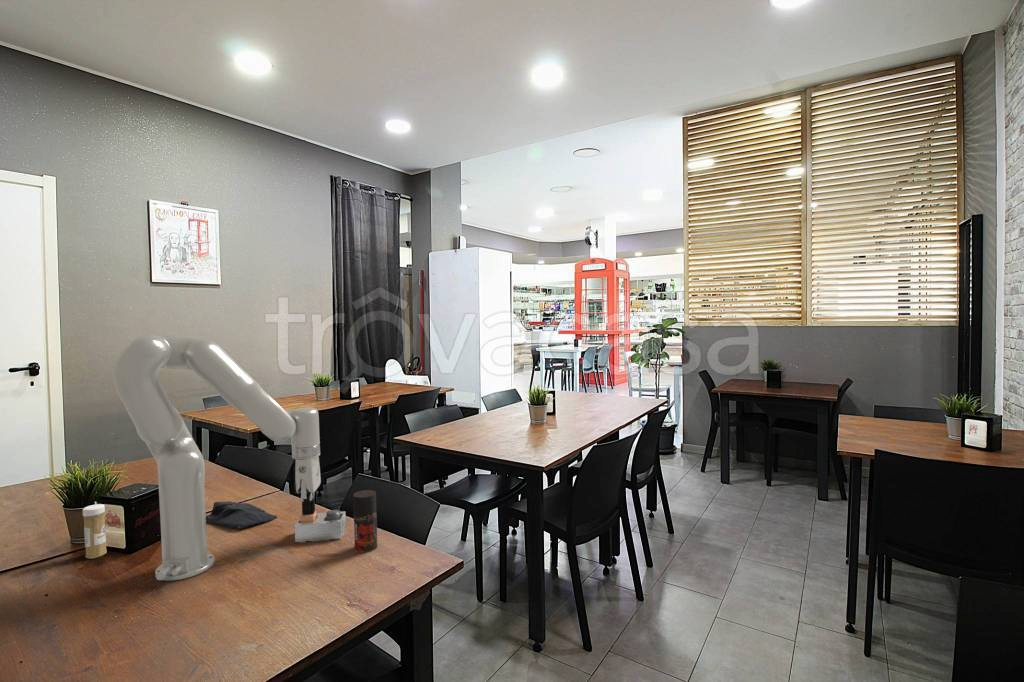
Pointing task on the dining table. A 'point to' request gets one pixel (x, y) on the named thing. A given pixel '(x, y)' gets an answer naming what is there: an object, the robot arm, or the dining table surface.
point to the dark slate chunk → (237, 515)
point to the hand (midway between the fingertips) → (308, 513)
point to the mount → (320, 528)
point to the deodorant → (365, 521)
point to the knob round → (333, 515)
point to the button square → (308, 518)
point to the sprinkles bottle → (94, 531)
